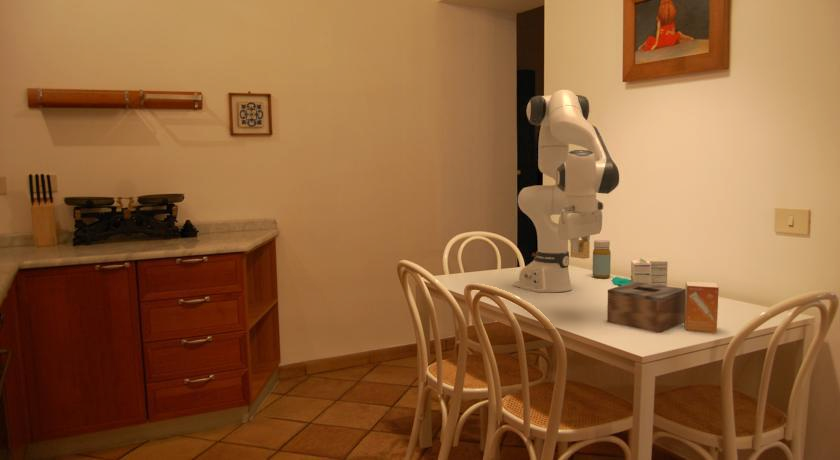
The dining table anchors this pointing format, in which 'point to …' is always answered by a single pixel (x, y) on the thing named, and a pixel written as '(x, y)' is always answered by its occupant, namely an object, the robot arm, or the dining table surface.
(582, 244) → the upright wooden block
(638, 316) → the collection bin
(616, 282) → the cloth
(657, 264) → the supplement box
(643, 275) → the syrup box
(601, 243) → the bottle
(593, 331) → the dining table surface
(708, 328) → the small box
